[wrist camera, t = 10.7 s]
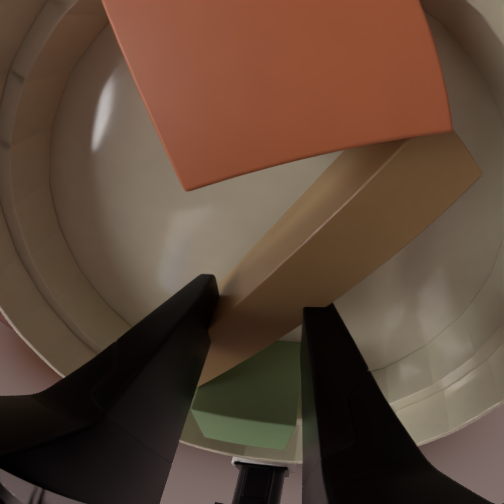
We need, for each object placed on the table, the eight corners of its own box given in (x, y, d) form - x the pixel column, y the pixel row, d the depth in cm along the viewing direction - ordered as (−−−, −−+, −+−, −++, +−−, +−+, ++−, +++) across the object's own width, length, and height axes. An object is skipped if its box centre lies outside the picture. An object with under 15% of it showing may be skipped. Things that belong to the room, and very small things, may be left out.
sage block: (293, 383, 14) (284, 450, 11) (221, 373, 15) (203, 437, 12) (304, 342, 12) (296, 426, 9) (214, 330, 13) (189, 409, 9)
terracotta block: (384, 99, 6) (455, 133, 3) (240, 133, 7) (183, 195, 4) (334, -35, 4) (353, -112, 1) (188, 9, 5) (92, -18, 2)
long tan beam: (437, 139, 6) (484, 174, 4) (205, 347, 12) (190, 391, 11) (396, 93, 5) (438, 108, 3) (174, 329, 12) (156, 374, 10)
